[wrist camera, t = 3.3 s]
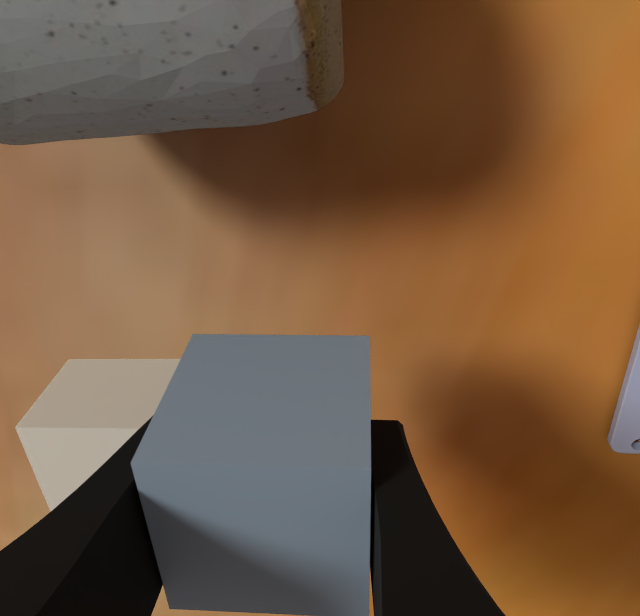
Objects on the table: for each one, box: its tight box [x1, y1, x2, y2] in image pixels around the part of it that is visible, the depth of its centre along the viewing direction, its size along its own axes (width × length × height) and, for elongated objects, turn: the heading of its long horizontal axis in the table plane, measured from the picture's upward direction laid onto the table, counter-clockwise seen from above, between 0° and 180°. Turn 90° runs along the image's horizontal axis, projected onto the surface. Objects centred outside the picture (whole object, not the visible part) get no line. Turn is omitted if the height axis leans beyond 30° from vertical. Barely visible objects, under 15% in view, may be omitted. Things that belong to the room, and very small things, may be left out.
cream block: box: [15, 359, 181, 512], centre depth 22 cm, size 5×5×4 cm
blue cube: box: [131, 334, 371, 616], centre depth 12 cm, size 4×4×4 cm
